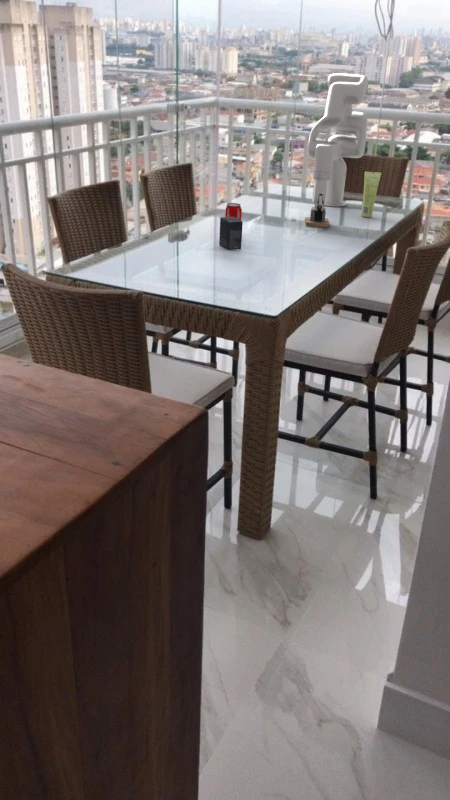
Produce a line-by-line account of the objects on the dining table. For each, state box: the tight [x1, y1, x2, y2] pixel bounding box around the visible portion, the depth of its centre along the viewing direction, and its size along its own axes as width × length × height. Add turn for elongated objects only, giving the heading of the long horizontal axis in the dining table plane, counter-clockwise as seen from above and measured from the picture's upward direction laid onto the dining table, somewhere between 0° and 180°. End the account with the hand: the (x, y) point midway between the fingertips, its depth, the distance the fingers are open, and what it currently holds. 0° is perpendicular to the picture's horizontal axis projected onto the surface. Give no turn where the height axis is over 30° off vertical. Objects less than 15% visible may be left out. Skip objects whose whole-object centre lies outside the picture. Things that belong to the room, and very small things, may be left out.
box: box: [218, 216, 243, 251], centre depth 259 cm, size 8×6×11 cm
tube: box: [360, 170, 382, 218], centre depth 314 cm, size 6×5×20 cm
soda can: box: [224, 202, 243, 221], centre depth 274 cm, size 6×6×12 cm
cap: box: [309, 206, 327, 222], centre depth 299 cm, size 6×6×5 cm
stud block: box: [304, 216, 331, 228], centre depth 300 cm, size 10×10×5 cm
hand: (317, 218), depth 300 cm, fingers closed on cap, 6 cm apart
